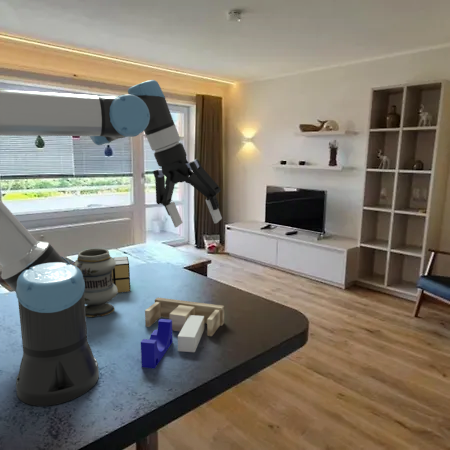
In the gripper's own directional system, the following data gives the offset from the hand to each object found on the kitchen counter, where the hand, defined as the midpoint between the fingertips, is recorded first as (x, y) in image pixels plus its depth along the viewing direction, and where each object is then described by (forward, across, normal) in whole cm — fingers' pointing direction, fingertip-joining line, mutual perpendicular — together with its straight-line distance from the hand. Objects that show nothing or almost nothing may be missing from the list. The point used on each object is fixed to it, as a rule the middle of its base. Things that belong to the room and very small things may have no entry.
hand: (197, 223), depth 99 cm
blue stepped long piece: (+20, +2, +28) cm, 34 cm away
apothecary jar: (+17, +34, +18) cm, 42 cm away
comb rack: (+24, +7, +13) cm, 28 cm away
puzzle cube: (+20, +45, +3) cm, 49 cm away
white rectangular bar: (+24, 0, +18) cm, 30 cm away
